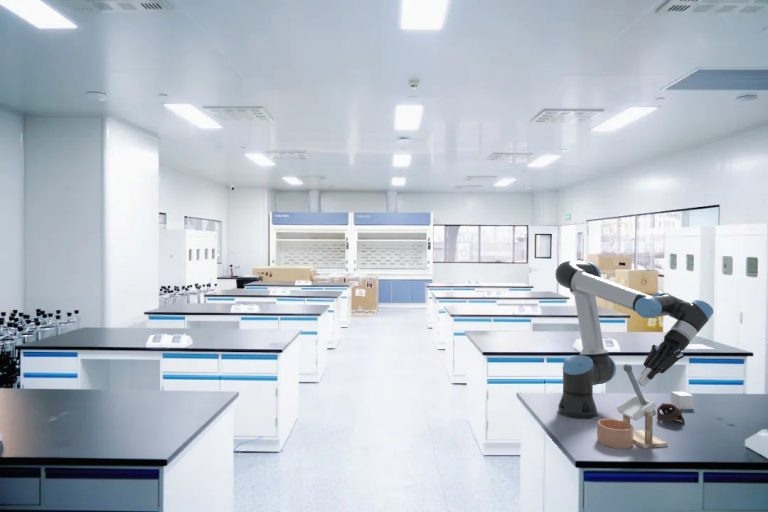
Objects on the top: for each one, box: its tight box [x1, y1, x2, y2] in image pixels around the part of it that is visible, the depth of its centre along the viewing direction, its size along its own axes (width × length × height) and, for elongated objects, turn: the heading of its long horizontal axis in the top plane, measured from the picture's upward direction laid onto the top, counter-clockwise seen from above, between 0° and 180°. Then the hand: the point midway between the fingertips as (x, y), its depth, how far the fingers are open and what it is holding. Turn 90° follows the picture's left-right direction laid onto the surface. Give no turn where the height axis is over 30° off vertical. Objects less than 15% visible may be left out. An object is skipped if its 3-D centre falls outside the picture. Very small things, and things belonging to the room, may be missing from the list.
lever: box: [616, 363, 658, 422], centre depth 171 cm, size 9×9×20 cm
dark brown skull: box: [656, 403, 686, 425], centre depth 192 cm, size 12×10×8 cm
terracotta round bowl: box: [596, 418, 634, 450], centre depth 170 cm, size 11×11×6 cm
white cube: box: [670, 391, 694, 410], centre depth 210 cm, size 6×6×6 cm
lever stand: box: [622, 412, 668, 449], centre depth 172 cm, size 10×12×12 cm
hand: (640, 383), depth 171 cm, fingers closed
